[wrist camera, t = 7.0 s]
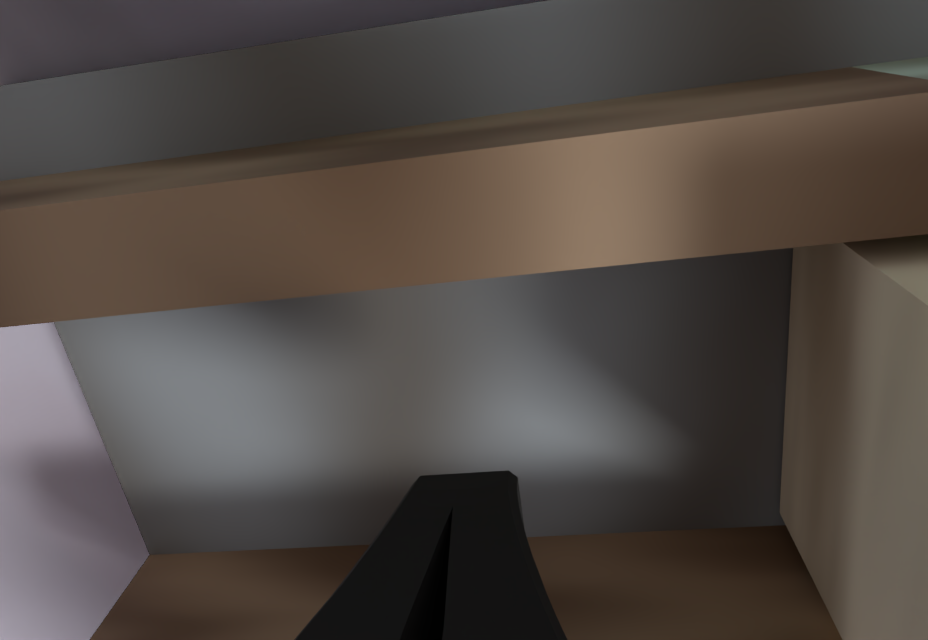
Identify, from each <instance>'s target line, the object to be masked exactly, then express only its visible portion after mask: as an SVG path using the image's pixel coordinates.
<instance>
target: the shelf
mask: <svg viewBox="0 0 928 640" xmlns="http://www.w3.org/2000/svg"><path fill="white" fill-rule="evenodd" d="M924 234H928V0H547V1H540V2H534V3H528V4H521V5H515V6H508V7H502V8H495V9H489V10H483V11H476V12H470V13H463V14H457V15H451V16H444V17H438V18H431V19H425V20H419V21H412V22H406V23H399V24H393V25H387V26H380V27H374V28H367V29H361V30H354V31H348V32H342V33H335V34H329V35H322V36H316V37H310V38H303V39H297V40H290V41H284V42H278V43H271V44H265V45H258V46H252V47H245V48H239V49H233V50H226V51H220V52H213V53H207V54H201V55H194V56H188V57H181V58H175V59H169V60H162V61H156V62H149V63H143V64H136V65H130V66H124V67H117V68H111V69H104V70H98V71H92V72H85V73H79V74H72V75H66V76H60V77H53V78H47V79H40V80H34V81H28V82H21V83H15V84H8V85H2V86H0V327H8V326H18V325H28V324H38V323H48V322H54V324H55V326H56V329H57V331H58V333H59V336H60V338H61V341H62V343H63V346H64V348H65V350H66V353H67V355H68V358H69V360H70V363H71V365H72V367H73V370H74V372H75V375H76V377H77V379H78V382H79V384H80V387H81V389H82V392H83V394H84V396H85V399H86V401H87V404H88V406H89V409H90V411H91V413H92V416H93V418H94V421H95V423H96V426H97V428H98V430H99V433H100V435H101V438H102V440H103V442H104V445H105V447H106V450H107V452H108V455H109V457H110V459H111V462H112V464H113V467H114V469H115V472H116V474H117V476H118V479H119V481H120V484H121V486H122V489H123V491H124V493H125V496H126V498H127V501H128V503H129V505H130V508H131V510H132V513H133V515H134V518H135V520H136V522H137V525H138V527H139V530H140V532H141V535H142V537H143V539H144V542H145V544H146V547H147V549H148V552H149V554H150V555H149V557H148V558H147V560H146V561H145V562H144V564H143V565H142V567H141V568H140V569H139V571H138V572H137V574H136V575H135V577H134V578H133V579H132V581H131V582H130V584H129V585H128V586H127V588H126V589H125V591H124V592H123V593H122V595H121V596H120V598H119V599H118V601H117V602H116V603H115V605H114V606H113V608H112V609H111V610H110V612H109V613H108V615H107V616H106V617H105V619H104V620H103V622H102V623H101V625H100V626H99V627H98V629H97V630H96V632H95V633H94V634H93V636H92V637H91V639H90V640H294V639H295V638H296V637H297V636H298V634H299V633H300V632H301V631H302V630H303V628H304V627H305V626H306V625H307V624H308V623H309V621H310V620H311V619H312V618H313V617H314V615H315V614H316V613H317V612H318V611H319V610H320V608H321V607H322V606H323V605H324V604H325V602H326V601H327V600H328V599H329V598H330V596H331V595H332V594H333V593H334V591H335V590H336V589H337V588H338V586H339V585H340V584H341V582H342V581H343V580H344V578H345V577H346V576H347V575H348V573H349V572H350V571H351V569H352V568H353V567H354V565H355V564H356V563H357V561H358V560H359V559H360V557H361V556H362V555H363V554H364V552H365V551H366V550H367V548H368V547H369V546H370V544H371V543H372V541H373V540H374V539H375V537H376V536H377V535H378V533H379V532H380V530H381V529H382V528H383V526H384V525H385V523H386V522H387V521H388V519H389V518H390V516H391V515H392V513H393V512H394V511H395V509H396V508H397V506H398V505H399V503H400V502H401V500H402V499H403V497H404V496H405V495H406V493H407V492H408V490H409V489H410V487H411V486H412V484H413V483H414V482H415V481H416V480H417V479H418V478H419V477H420V476H423V475H440V474H457V473H474V472H491V471H507V470H509V471H510V472H511V473H513V474H514V475H515V476H517V477H518V483H519V491H520V498H521V506H522V514H523V521H524V529H525V533H526V536H527V540H528V543H529V546H530V549H531V552H532V555H533V558H534V561H535V563H536V566H537V569H538V571H539V574H540V577H541V579H542V582H543V585H544V587H545V590H546V593H547V595H548V597H549V600H550V602H551V604H552V607H553V609H554V611H555V614H556V616H557V618H558V620H559V623H560V625H561V627H562V629H563V631H564V633H565V636H566V638H567V640H842V638H841V636H840V634H839V632H838V630H837V628H836V626H835V624H834V622H833V620H832V618H831V616H830V613H829V611H828V609H827V607H826V605H825V603H824V601H823V599H822V597H821V595H820V593H819V591H818V589H817V587H816V585H815V583H814V581H813V579H812V577H811V575H810V573H809V571H808V569H807V567H806V565H805V563H804V561H803V559H802V557H801V555H800V553H799V551H798V549H797V547H796V545H795V543H794V541H793V539H792V537H791V535H790V533H789V531H788V529H787V527H786V525H785V523H784V521H783V519H782V517H781V515H780V494H781V475H782V455H783V436H784V417H785V397H786V378H787V359H788V339H789V320H790V301H791V281H792V262H793V248H794V247H804V246H814V245H824V244H834V243H844V242H854V241H864V240H874V239H884V238H894V237H904V236H914V235H924Z"/></svg>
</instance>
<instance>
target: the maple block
mask: <svg viewBox="0 0 928 640" xmlns="http://www.w3.org/2000/svg"><path fill="white" fill-rule="evenodd" d="M780 515H781V517H782V519H783V521H784V523H785V525H786V527H787V529H788V531H789V533H790V535H791V537H792V539H793V541H794V543H795V545H796V547H797V549H798V551H799V553H800V555H801V557H802V559H803V561H804V563H805V565H806V567H807V569H808V571H809V573H810V575H811V577H812V579H813V581H814V583H815V585H816V587H817V589H818V591H819V593H820V595H821V597H822V599H823V601H824V603H825V605H826V607H827V609H828V611H829V613H830V616H831V618H832V620H833V622H834V624H835V626H836V628H837V630H838V632H839V634H840V636H841V638H842V640H928V234H924V235H914V236H904V237H894V238H884V239H874V240H864V241H854V242H844V243H834V244H824V245H814V246H804V247H794V248H793V262H792V281H791V301H790V320H789V339H788V359H787V378H786V397H785V417H784V436H783V455H782V475H781V494H780Z"/></svg>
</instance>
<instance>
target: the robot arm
mask: <svg viewBox="0 0 928 640" xmlns="http://www.w3.org/2000/svg"><path fill="white" fill-rule="evenodd" d="M294 640H567V638H566V636H565V633H564V631H563V629H562V627H561V625H560V623H559V620H558V618H557V616H556V614H555V611H554V609H553V607H552V604H551V602H550V600H549V597H548V595H547V593H546V590H545V587H544V585H543V582H542V579H541V577H540V574H539V571H538V569H537V566H536V563H535V561H534V558H533V555H532V552H531V549H530V546H529V543H528V540H527V536H526V533H525V529H524V521H523V514H522V506H521V498H520V491H519V483H518V477H517V476H515V475H514V474H513V473H511V472H510V471H509V470H507V471H491V472H474V473H457V474H440V475H423V476H420V477H419V478H418V479H417V480H416V481H415V482H414V483H413V484H412V486H411V487H410V489H409V490H408V492H407V493H406V495H405V496H404V497H403V499H402V500H401V502H400V503H399V505H398V506H397V508H396V509H395V511H394V512H393V513H392V515H391V516H390V518H389V519H388V521H387V522H386V523H385V525H384V526H383V528H382V529H381V530H380V532H379V533H378V535H377V536H376V537H375V539H374V540H373V541H372V543H371V544H370V546H369V547H368V548H367V550H366V551H365V552H364V554H363V555H362V556H361V557H360V559H359V560H358V561H357V563H356V564H355V565H354V567H353V568H352V569H351V571H350V572H349V573H348V575H347V576H346V577H345V578H344V580H343V581H342V582H341V584H340V585H339V586H338V588H337V589H336V590H335V591H334V593H333V594H332V595H331V596H330V598H329V599H328V600H327V601H326V602H325V604H324V605H323V606H322V607H321V608H320V610H319V611H318V612H317V613H316V614H315V615H314V617H313V618H312V619H311V620H310V621H309V623H308V624H307V625H306V626H305V627H304V628H303V630H302V631H301V632H300V633H299V634H298V636H297V637H296V638H295V639H294Z"/></svg>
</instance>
